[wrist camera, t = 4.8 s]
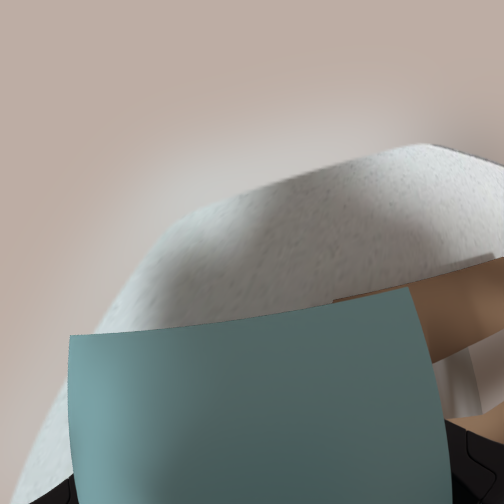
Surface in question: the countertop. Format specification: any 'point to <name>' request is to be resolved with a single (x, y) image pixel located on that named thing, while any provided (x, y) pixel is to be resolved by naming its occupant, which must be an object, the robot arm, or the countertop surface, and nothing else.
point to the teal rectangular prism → (262, 410)
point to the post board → (465, 342)
